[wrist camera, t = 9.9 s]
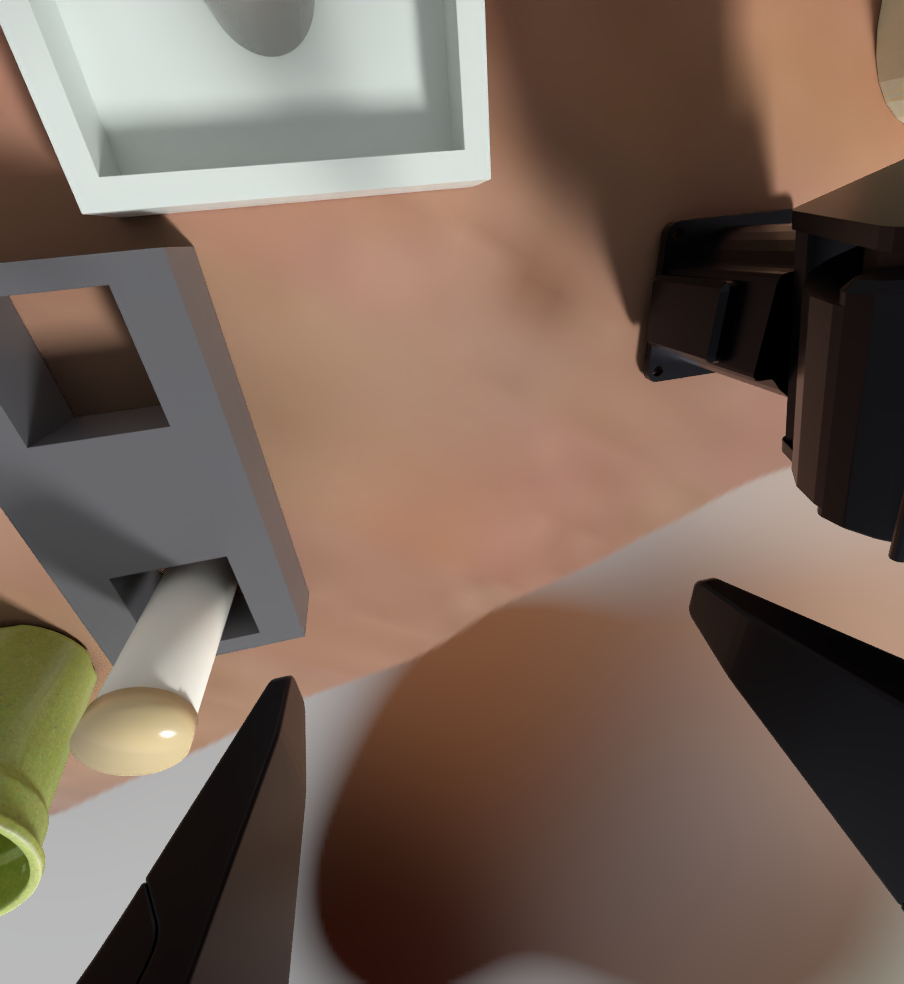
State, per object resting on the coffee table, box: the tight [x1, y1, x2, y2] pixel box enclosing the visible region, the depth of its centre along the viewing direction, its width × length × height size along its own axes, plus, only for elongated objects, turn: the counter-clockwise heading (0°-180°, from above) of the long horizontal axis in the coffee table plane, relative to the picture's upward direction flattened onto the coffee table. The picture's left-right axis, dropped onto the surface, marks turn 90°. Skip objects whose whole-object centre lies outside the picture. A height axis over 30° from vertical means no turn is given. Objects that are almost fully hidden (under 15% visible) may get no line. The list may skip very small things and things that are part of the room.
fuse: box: [70, 556, 238, 776], centre depth 17 cm, size 3×3×9 cm
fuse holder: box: [0, 246, 309, 666], centre depth 17 cm, size 8×16×3 cm, turn 5°
